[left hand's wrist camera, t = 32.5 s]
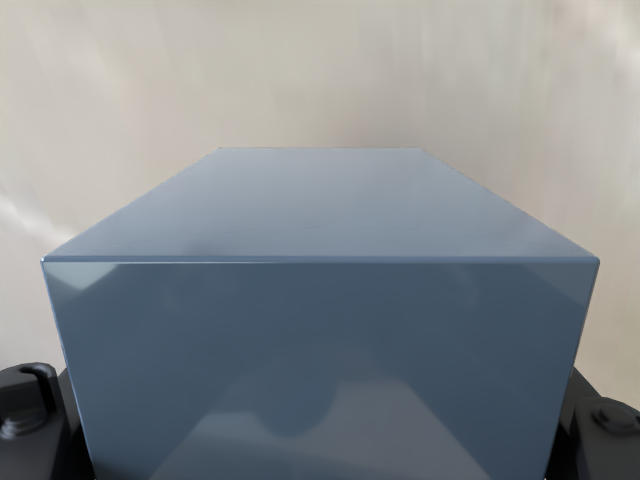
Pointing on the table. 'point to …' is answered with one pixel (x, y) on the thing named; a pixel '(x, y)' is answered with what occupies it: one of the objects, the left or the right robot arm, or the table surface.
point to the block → (320, 323)
